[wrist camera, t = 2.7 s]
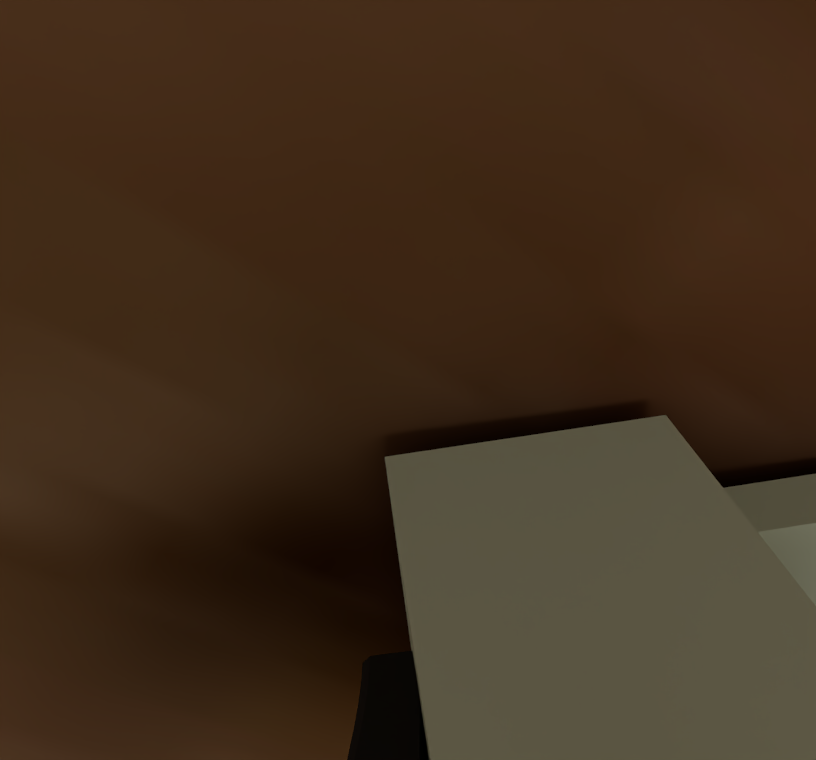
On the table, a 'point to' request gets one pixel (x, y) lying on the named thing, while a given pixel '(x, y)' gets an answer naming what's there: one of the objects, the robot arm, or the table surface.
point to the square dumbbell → (606, 600)
